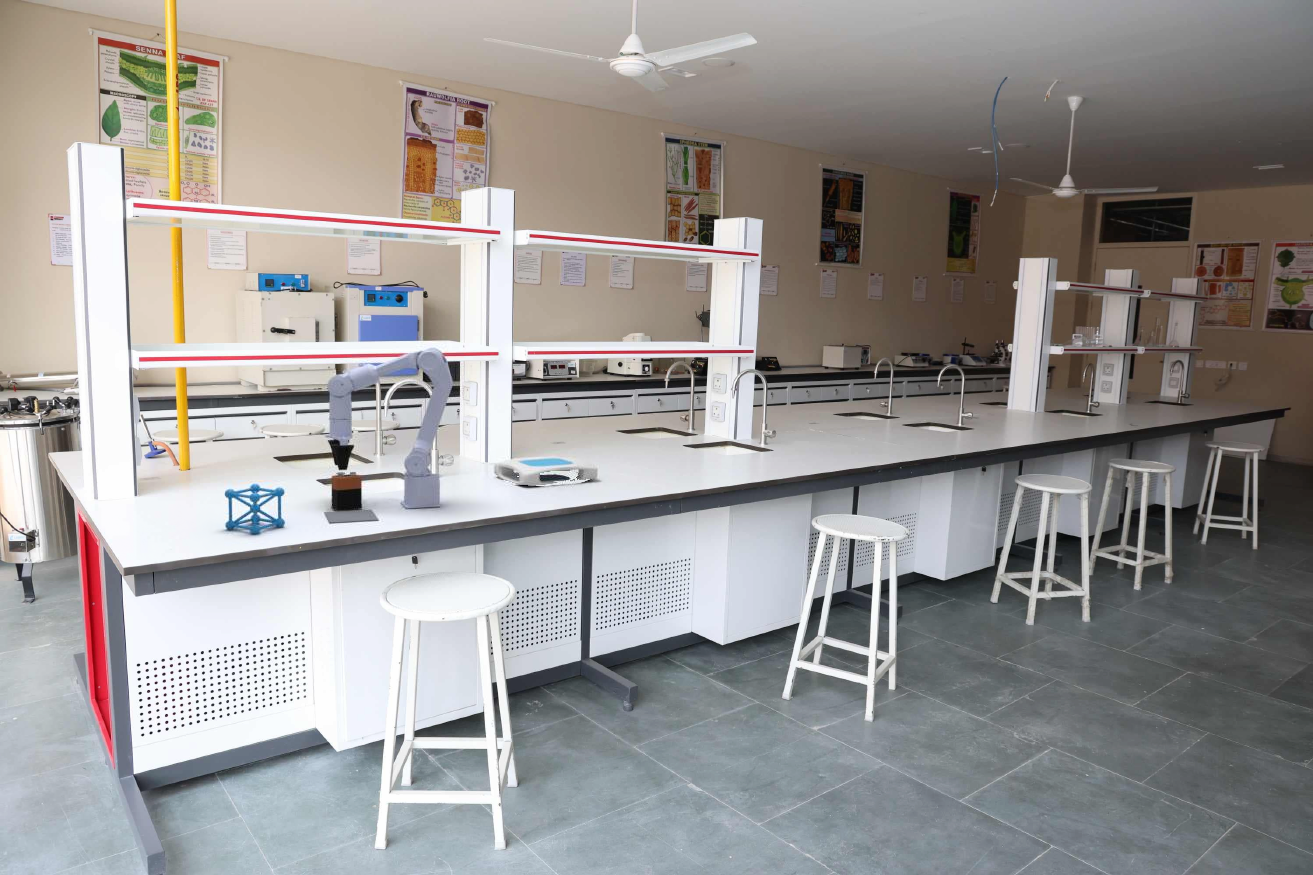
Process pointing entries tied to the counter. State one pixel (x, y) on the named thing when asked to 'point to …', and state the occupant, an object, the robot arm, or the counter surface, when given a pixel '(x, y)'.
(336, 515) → the mat
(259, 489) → the molecular structure
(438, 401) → the robot arm
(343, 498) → the battery
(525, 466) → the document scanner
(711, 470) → the counter surface
